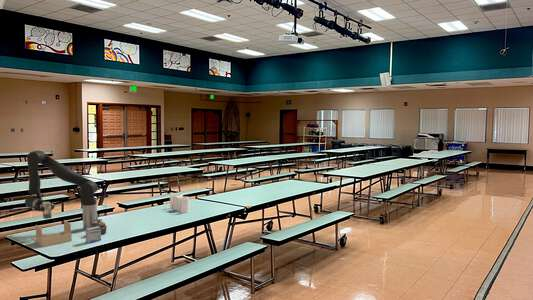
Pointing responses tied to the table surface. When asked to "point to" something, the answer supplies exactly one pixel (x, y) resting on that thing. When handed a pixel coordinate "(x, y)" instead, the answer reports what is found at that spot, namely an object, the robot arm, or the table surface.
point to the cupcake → (100, 225)
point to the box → (47, 210)
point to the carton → (53, 236)
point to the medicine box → (93, 234)
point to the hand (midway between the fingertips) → (47, 209)
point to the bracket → (179, 203)
